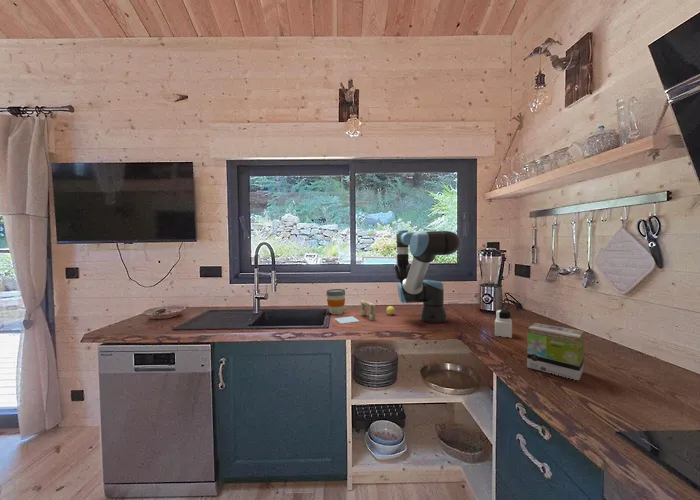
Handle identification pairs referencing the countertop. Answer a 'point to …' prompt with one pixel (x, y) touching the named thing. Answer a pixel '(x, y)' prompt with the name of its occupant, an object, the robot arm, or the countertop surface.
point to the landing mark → (346, 320)
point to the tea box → (555, 350)
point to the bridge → (371, 309)
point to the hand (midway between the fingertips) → (403, 290)
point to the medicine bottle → (503, 324)
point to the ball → (390, 310)
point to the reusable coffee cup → (336, 300)
